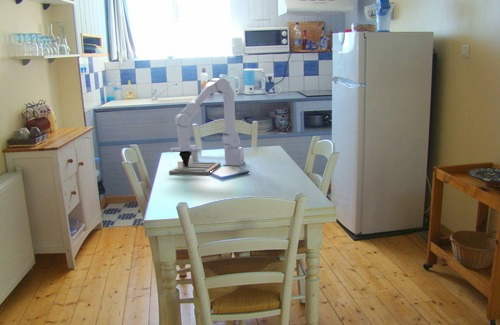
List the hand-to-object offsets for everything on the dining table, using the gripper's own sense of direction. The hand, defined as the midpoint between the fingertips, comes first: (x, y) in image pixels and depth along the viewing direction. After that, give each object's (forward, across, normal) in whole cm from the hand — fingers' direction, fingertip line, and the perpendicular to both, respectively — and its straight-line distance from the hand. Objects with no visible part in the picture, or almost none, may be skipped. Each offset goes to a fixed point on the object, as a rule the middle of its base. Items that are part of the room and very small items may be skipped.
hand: (186, 166), depth 223 cm
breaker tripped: (+1, -2, 0) cm, 3 cm away
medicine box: (+3, -7, +21) cm, 22 cm away
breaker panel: (+3, +3, +4) cm, 6 cm away
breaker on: (+1, -2, +8) cm, 8 cm away
